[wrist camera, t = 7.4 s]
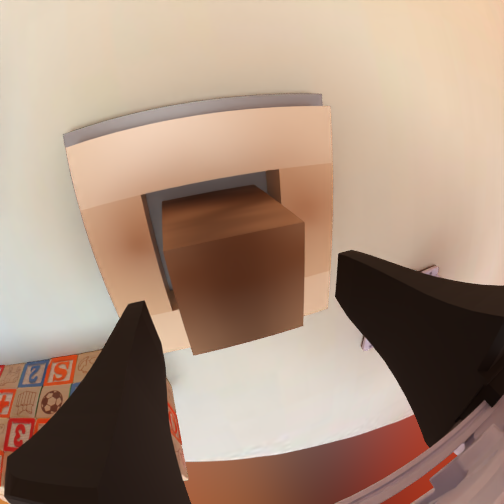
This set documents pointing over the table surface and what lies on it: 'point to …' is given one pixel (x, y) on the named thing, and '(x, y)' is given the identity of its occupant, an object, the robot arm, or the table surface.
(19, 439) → the stack of blocks
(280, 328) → the walnut block
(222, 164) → the puzzle board
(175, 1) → the table surface
